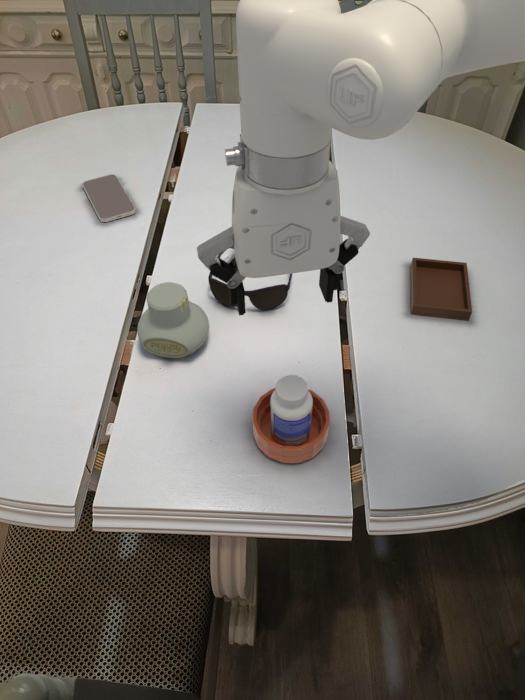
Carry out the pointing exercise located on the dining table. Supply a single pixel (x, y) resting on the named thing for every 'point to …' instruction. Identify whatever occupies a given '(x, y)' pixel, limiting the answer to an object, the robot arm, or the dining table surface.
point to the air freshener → (172, 322)
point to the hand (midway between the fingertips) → (283, 300)
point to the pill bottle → (291, 411)
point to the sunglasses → (251, 293)
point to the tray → (440, 289)
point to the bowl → (290, 452)
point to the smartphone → (108, 198)
